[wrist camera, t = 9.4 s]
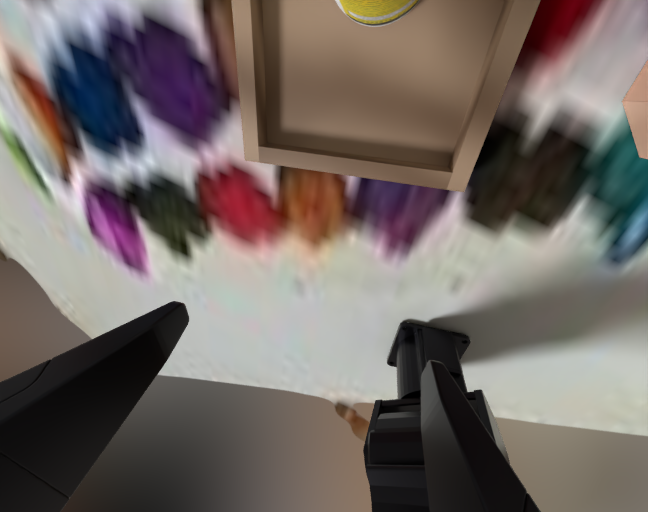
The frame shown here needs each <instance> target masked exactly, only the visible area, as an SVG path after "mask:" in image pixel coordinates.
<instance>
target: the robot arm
mask: <svg viewBox="0 0 648 512" xmlns="http://www.w3.org/2000/svg"><path fill="white" fill-rule="evenodd" d="M188 322H189V316H188V312H187V309H186V306H185V304H184V303H181V302H176V301H173V302H170V303H168V304H166V305H164V306H161V307H159V308H157V309H155V310H153V311H151V312H149V313H147V314H145V315H143V316H140V317H138V318H136V319H134V320H132V321H130V322H128V323H126V324H124V325H121V326H119V327H117V328H115V329H113V330H111V331H109V332H107V333H105V334H102V335H100V336H98V337H96V338H94V339H92V340H90V341H88V342H86V343H83V344H81V345H79V346H77V347H75V348H73V349H71V350H69V351H67V352H65V353H62V354H60V355H58V356H56V357H54V358H53V359H52V360H47V361H46V362H43V363H41V364H39V365H37V366H35V367H33V368H30V369H28V370H26V371H24V372H22V373H20V374H17V375H15V376H13V377H11V378H9V379H6V380H4V381H2V382H0V512H61V510H62V509H63V507H64V506H65V505H66V503H67V502H68V500H69V498H70V497H71V496H72V494H73V493H74V491H75V490H76V489H77V487H78V486H79V484H80V483H81V482H82V480H83V479H84V477H85V476H86V475H87V473H88V472H89V470H90V469H91V467H92V466H93V465H94V463H95V462H96V460H97V459H98V458H99V456H100V455H101V453H102V452H103V451H104V449H105V448H106V446H107V445H108V444H109V442H110V441H111V439H112V437H113V436H114V435H115V434H116V432H117V431H118V429H119V428H120V427H121V425H122V424H123V422H124V421H125V419H126V418H127V417H128V415H129V414H130V412H131V411H132V410H133V408H134V406H135V405H136V404H137V402H138V401H139V400H140V398H141V397H142V395H143V394H144V392H145V391H146V390H147V388H148V387H149V385H150V384H151V383H152V381H153V380H154V378H155V377H156V376H157V374H158V373H159V371H160V370H161V368H162V367H163V366H164V364H165V363H166V361H167V359H168V358H169V356H170V355H171V353H172V351H173V349H174V348H175V346H176V344H177V342H178V341H179V339H180V337H181V335H182V334H183V332H184V330H185V328H186V327H187V325H188ZM404 327H406V328H404ZM469 344H470V339H469V337H468V336H467V335H463V334H458V333H454V332H449V331H444V330H439V329H435V328H430V327H425V326H421V325H416V324H411V323H407V322H403V323H400V325H399V328H398V331H397V333H396V336H395V339H394V342H393V344H392V347H391V350H390V353H389V355H388V358H387V364H388V365H390V366H394V367H397V389H398V399H394V400H384V401H383V400H376V401H375V405H374V409H373V413H372V417H371V421H370V425H369V428H368V432H367V436H366V441H365V445H364V450H363V451H364V458H365V459H364V460H365V468H366V473H367V477H368V480H369V484H370V492H371V501H372V512H541V511H540V510H539V508H538V507H537V505H536V504H535V502H534V501H533V499H532V498H531V496H530V495H529V494H528V493H527V491H526V489H525V487H524V486H523V484H522V483H521V481H520V480H519V478H518V476H517V475H516V473H515V472H514V470H513V469H512V467H511V466H510V462H509V458H508V454H507V451H506V448H505V445H504V442H503V439H502V436H501V434H500V431H499V428H498V425H497V422H496V420H495V418H494V415H493V413H492V411H491V409H490V407H489V405H488V402H487V400H486V398H485V396H484V394H483V391H482V390H474V392H467V388H466V384H465V380H464V376H463V371H462V367H461V363H460V359H461V357H462V355H463V354H464V352H465V351H466V349H467V347H468V346H469Z"/></svg>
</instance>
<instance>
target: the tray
mask: <svg viewBox="0 0 648 512" xmlns="http://www.w3.org/2000/svg"><path fill="white" fill-rule="evenodd" d="M539 3H540V0H420V1H419V3H418V4H417V5H416V6H415V7H414V8H413V9H412V10H411V11H410V12H409V13H408V14H406V15H405V16H404V17H402V18H401V19H399V20H398V21H396V22H394V23H391V24H388V25H385V26H380V27H369V26H364V25H361V24H359V23H357V22H355V21H353V20H352V19H350V18H349V17H348V16H347V15H346V14H345V13H344V12H343V11H342V10H341V9H340V7H339V6H338V5H337V3H336V1H335V0H232V12H233V24H234V36H235V47H236V59H237V71H238V83H239V95H240V107H241V119H242V131H243V143H244V154H245V160H246V161H253V162H260V163H267V164H273V165H280V166H287V167H294V168H301V169H308V170H315V171H322V172H329V173H336V174H342V175H349V176H356V177H363V178H370V179H377V180H384V181H391V182H398V183H404V184H411V185H418V186H425V187H432V188H439V189H446V190H453V191H460V192H464V191H465V188H466V186H467V183H468V181H469V178H470V176H471V173H472V171H473V168H474V166H475V163H476V161H477V158H478V156H479V153H480V151H481V148H482V146H483V143H484V141H485V138H486V136H487V133H488V131H489V128H490V126H491V123H492V121H493V118H494V116H495V113H496V111H497V108H498V106H499V103H500V101H501V98H502V96H503V93H504V91H505V88H506V86H507V83H508V81H509V78H510V76H511V73H512V71H513V68H514V66H515V63H516V60H517V58H518V55H519V53H520V50H521V48H522V45H523V43H524V40H525V38H526V35H527V33H528V30H529V28H530V25H531V23H532V20H533V18H534V15H535V13H536V10H537V8H538V5H539Z"/></svg>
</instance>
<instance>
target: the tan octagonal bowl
mask: <svg viewBox="0 0 648 512" xmlns="http://www.w3.org/2000/svg"><path fill="white" fill-rule="evenodd" d="M622 103H623V106H624V109H625V112H626V115H627V119H628V122H629V125H630V128H631V131H632V134H633V138H634V141H635V144H636V147H637V150H638V154H639V157H641V158H645V159H648V61H647V62H646V64H645V65H644V67H643V69H642V70H641V72H640V73H639V75H638V77H637V78H636V80H635V81H634V83H633V85H632V86H631V88H630V89H629V91H628V93H627V94H626V96H625V97H624V99H623V101H622Z"/></svg>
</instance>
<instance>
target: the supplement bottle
mask: <svg viewBox="0 0 648 512" xmlns="http://www.w3.org/2000/svg"><path fill="white" fill-rule="evenodd" d="M335 1H336V3H337V5H338V6H339V7H340V9H341V10H342V11H343V12H344V13H345V14H346V15H347V16H348V17H349V18H350V19H352V20H353V21H355V22H357V23H359V24H361V25H364V26H369V27H380V26H385V25H388V24H391V23H394V22H396V21H398V20H399V19H401V18H402V17H404V16H405V15H406V14H408V13H409V12H410V11H411V10H412V9H413V8H414V7H415V6H416V5H417V4H418V3H419V1H420V0H335Z"/></svg>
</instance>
